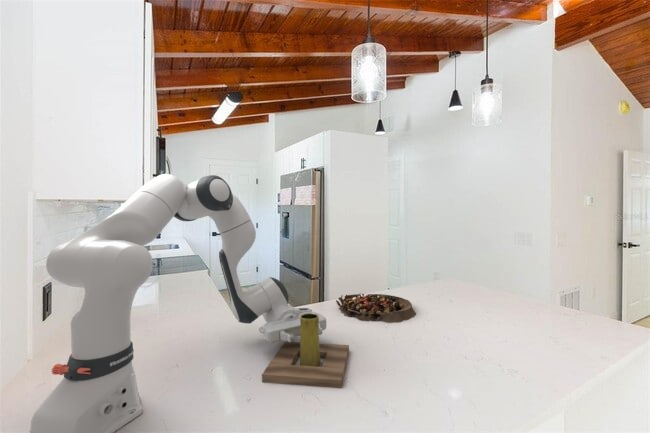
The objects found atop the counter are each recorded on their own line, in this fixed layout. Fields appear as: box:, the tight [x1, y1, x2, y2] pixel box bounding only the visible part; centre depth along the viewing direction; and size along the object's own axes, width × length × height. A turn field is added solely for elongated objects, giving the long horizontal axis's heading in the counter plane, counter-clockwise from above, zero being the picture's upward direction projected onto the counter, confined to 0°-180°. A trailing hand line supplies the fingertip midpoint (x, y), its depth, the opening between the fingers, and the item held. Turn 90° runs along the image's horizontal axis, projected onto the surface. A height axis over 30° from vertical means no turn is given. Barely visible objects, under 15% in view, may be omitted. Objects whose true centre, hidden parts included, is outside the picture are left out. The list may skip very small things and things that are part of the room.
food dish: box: [335, 293, 417, 324], centre depth 142 cm, size 35×33×8 cm
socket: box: [261, 341, 350, 389], centre depth 93 cm, size 21×21×2 cm
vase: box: [299, 313, 322, 367], centre depth 93 cm, size 6×6×14 cm
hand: (306, 335), depth 94 cm, fingers open, 8 cm apart
